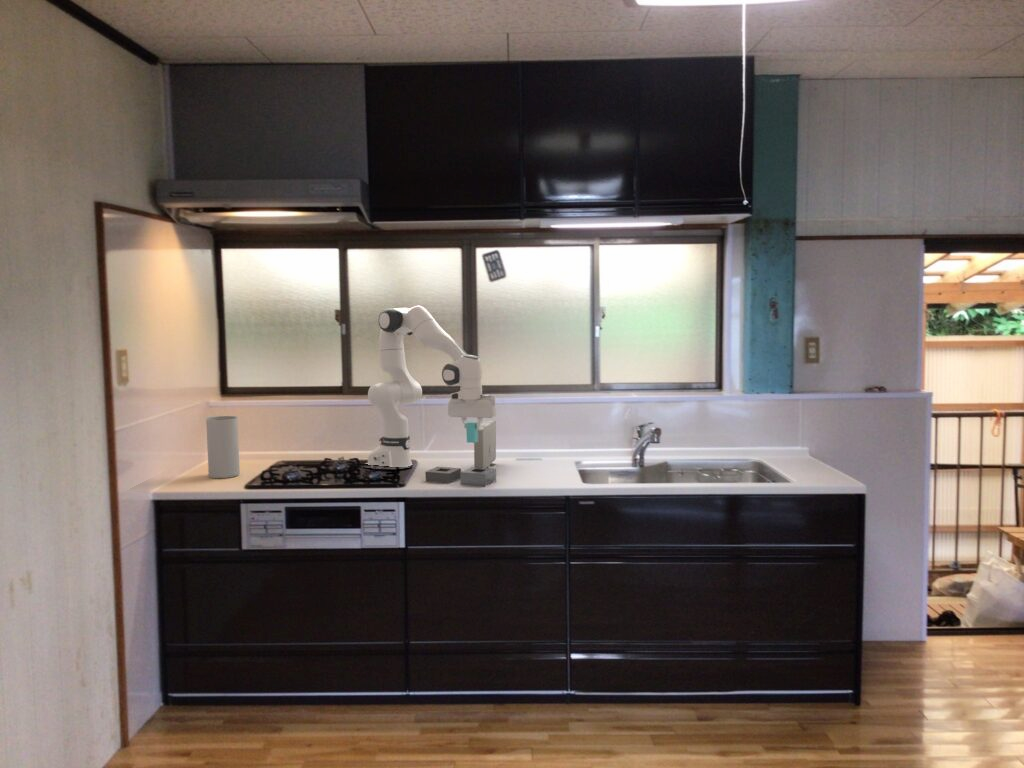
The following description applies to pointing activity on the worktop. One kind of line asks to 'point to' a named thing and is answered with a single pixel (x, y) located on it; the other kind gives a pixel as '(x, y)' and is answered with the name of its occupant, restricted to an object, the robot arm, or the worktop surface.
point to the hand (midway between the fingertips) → (472, 428)
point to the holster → (443, 474)
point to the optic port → (478, 476)
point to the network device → (485, 446)
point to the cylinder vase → (223, 446)
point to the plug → (472, 432)
